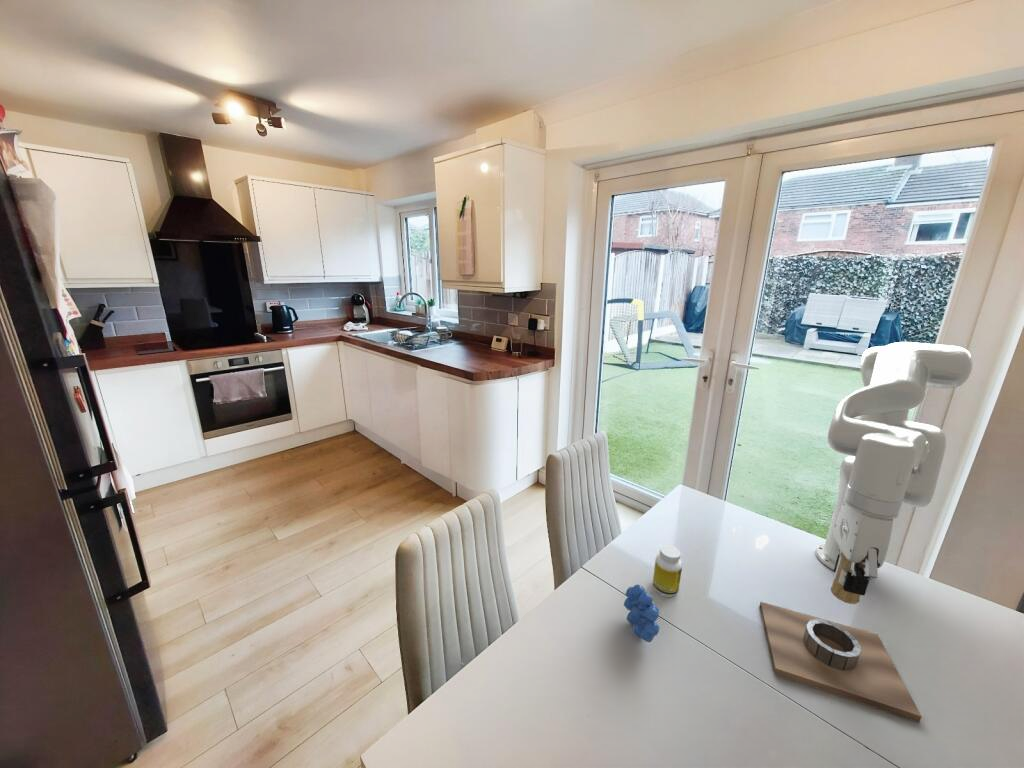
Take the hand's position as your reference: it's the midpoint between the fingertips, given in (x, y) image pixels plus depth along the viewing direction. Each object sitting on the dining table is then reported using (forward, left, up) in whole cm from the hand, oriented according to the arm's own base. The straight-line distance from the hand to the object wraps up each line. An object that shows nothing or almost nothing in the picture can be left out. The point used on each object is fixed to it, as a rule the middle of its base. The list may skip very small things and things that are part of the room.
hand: (848, 582), depth 77 cm
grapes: (+10, -36, -19) cm, 42 cm away
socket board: (0, 0, -19) cm, 19 cm away
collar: (0, 0, -17) cm, 17 cm away
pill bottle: (-6, -32, -19) cm, 38 cm away
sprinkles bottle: (0, 0, -4) cm, 4 cm away
